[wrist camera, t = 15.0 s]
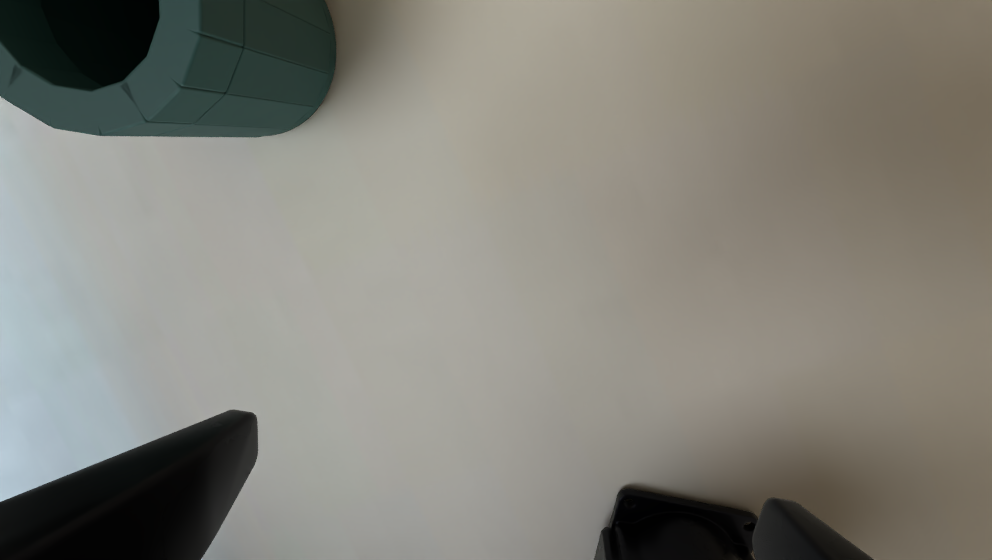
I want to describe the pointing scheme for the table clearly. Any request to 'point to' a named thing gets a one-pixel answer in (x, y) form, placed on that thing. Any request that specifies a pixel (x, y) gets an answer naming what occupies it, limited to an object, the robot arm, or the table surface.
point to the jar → (167, 65)
